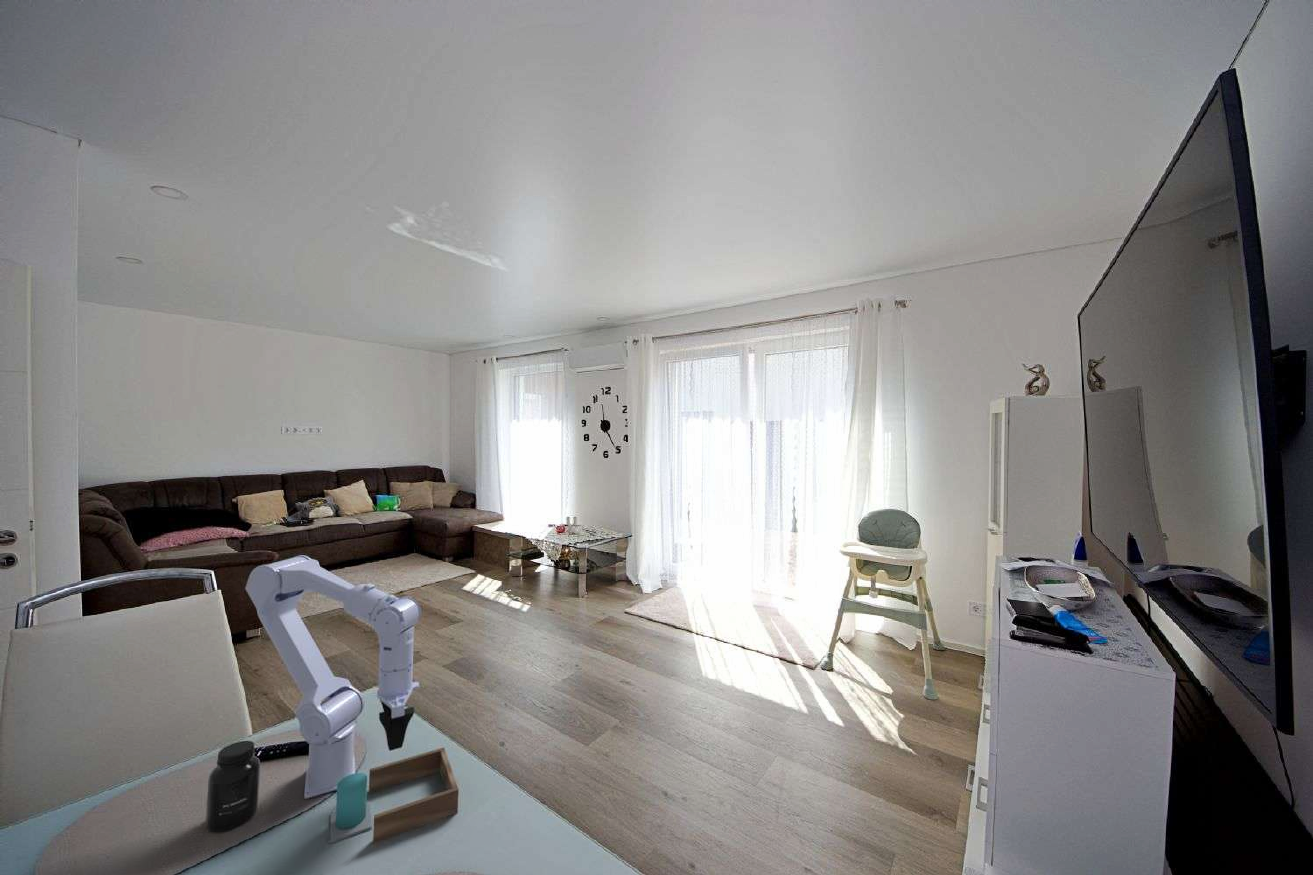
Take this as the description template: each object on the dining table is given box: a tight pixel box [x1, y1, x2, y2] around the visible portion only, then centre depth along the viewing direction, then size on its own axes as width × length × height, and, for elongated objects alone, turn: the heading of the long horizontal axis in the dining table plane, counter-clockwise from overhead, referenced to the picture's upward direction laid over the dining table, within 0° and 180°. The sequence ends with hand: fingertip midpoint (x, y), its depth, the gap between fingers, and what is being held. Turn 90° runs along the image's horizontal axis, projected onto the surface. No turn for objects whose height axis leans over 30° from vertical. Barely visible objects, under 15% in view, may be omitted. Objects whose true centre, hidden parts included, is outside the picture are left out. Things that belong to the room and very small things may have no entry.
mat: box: [329, 800, 373, 844], centre depth 84 cm, size 7×6×1 cm
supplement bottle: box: [205, 740, 261, 834], centre depth 84 cm, size 7×7×12 cm
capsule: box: [335, 772, 368, 830], centre depth 84 cm, size 4×4×6 cm
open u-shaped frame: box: [368, 747, 459, 844], centre depth 89 cm, size 14×13×4 cm
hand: (394, 737), depth 93 cm, fingers open, 7 cm apart
